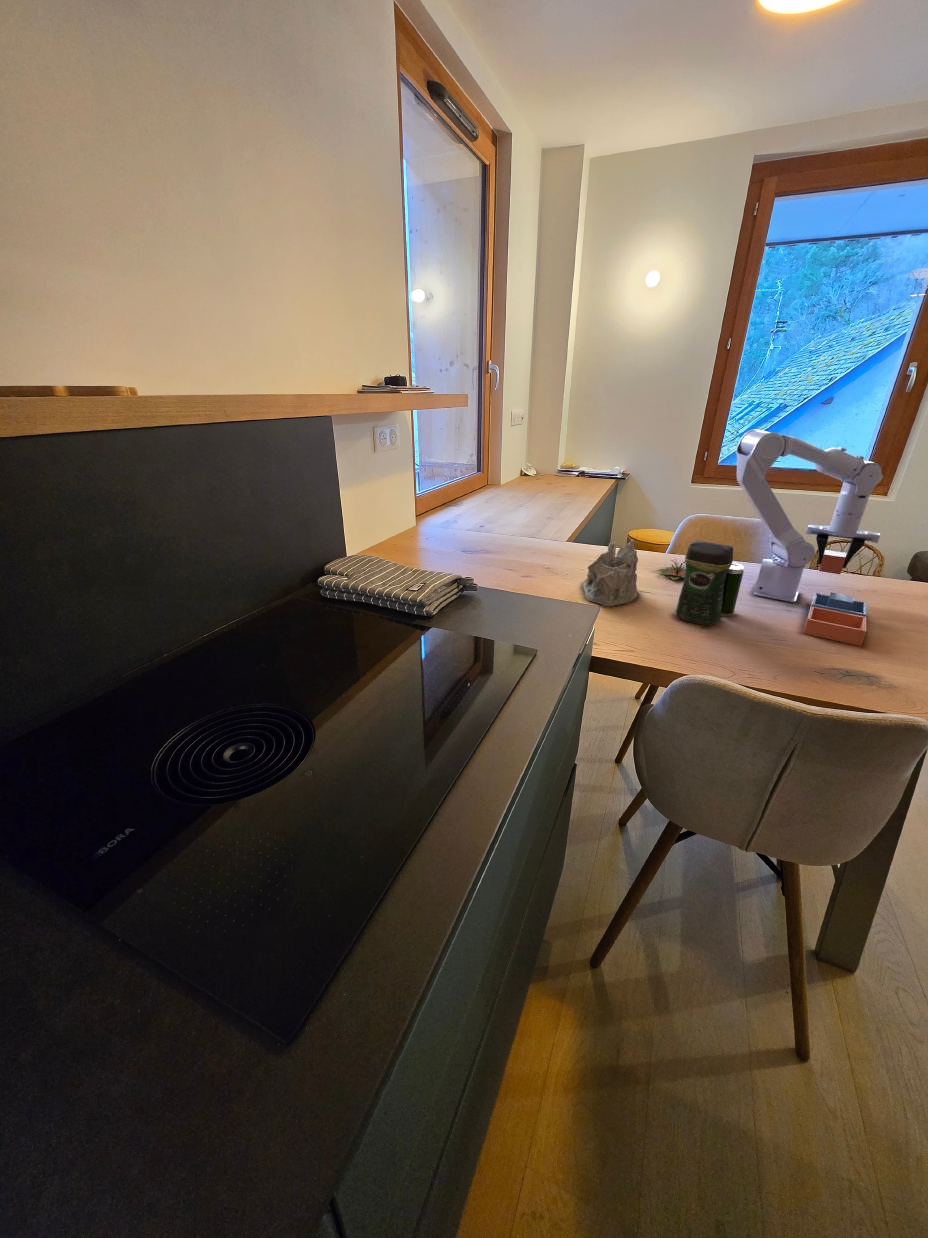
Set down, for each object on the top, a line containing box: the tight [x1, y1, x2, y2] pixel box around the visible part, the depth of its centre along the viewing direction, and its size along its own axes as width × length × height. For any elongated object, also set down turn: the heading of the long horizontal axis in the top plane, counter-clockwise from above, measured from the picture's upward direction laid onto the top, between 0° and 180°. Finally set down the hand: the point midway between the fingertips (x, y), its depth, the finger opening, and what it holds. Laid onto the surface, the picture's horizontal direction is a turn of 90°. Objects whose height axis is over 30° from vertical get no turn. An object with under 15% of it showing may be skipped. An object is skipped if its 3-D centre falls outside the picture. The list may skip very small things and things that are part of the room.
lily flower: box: [656, 558, 686, 581], centre depth 143 cm, size 12×12×5 cm
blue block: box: [826, 591, 855, 611], centre depth 116 cm, size 4×4×4 cm
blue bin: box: [807, 592, 868, 617], centre depth 117 cm, size 10×9×4 cm
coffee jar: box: [675, 540, 734, 626], centre depth 114 cm, size 10×8×19 cm
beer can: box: [720, 562, 744, 617], centre depth 118 cm, size 5×5×12 cm
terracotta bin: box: [803, 605, 868, 647], centre depth 109 cm, size 10×9×4 cm
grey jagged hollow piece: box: [582, 538, 639, 607], centre depth 130 cm, size 16×16×15 cm
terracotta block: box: [818, 549, 847, 575], centre depth 125 cm, size 4×4×4 cm
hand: (831, 565), depth 125 cm, fingers closed on terracotta block, 4 cm apart
